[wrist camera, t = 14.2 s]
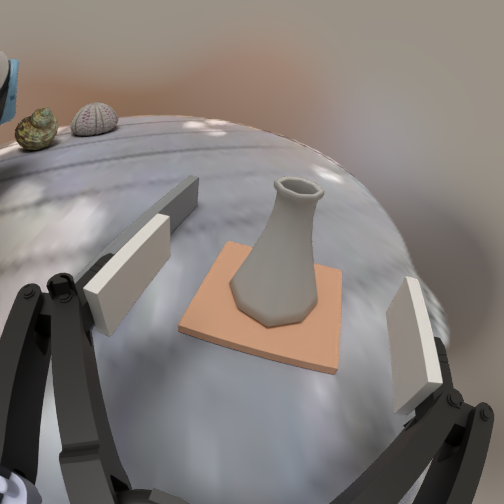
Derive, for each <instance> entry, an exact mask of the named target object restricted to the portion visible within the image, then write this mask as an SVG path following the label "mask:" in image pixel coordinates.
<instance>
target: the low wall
mask: <svg viewBox="0 0 504 504" xmlns="http://www.w3.org/2000/svg"><path fill="white" fill-rule="evenodd" d="M198 185H199V177H196V176H191V175H190V176H189V177H187V178H186V179H185V180H184V181H182V182H181V183H180V184H179V185H177V186H176V187H175V188H174V189H172V190H171V191H170V192H169V193H167V194H166V195H165V196H164V197H163V198H161V199H160V200H159V201H158V202H157V203H155V204H154V205H153V206H152V207H151V208H149V209H148V210H147V211H146V212H145V213H144V214H142V215H141V216H140V217H139V218H138V219H137V220H136V221H134V222H133V223H132V224H131V225H130V226H129V227H128V228H126V229H125V230H124V231H123V232H122V233H121V234H120V235H119V236H118V237H117V238H115V239H114V240H113V241H112V242H111V243H110V244H109V245H108V246H107V247H106V248H105V249H104V250H103V251H102V252H100V253H99V254H98V255H97V256H96V257H95V258H94V259H93V260H92V261H91V262H90V263H89V264H88V265H87V266H86V267H85V268H84V269H83V270H82V271H81V272H80V273H79V274H78V275H77V276H76V277H75V278H74V283H76V282H77V281H78V280H79V279H80V278H81V277H82V276H83V275H84V274H85V273H86V272H87V271H88V270H89V269H90V268H91V267H92V266H93V265H94V264H95V263H96V262H97V261H98V260H99V259H100V258H101V257H102V256H104V255H106V254H108V253H112V254H116V253H117V252H118V251H119V250H120V249H121V248H122V247H123V246H124V245H125V244H126V243H127V242H128V241H129V240H130V239H131V238H132V237H133V236H134V235H135V234H136V233H137V232H138V231H140V230H141V229H142V228H143V227H144V226H145V225H146V224H147V223H148V222H149V221H150V220H151V219H152V218H153V217H154V216H155V215H156V214H163V215H167V216H170V235H171V234H172V232H173V231H174V230H175V229H176V228H177V227H178V226H179V225H180V224H181V223H182V222H183V220H184V219H185V218H186V217H187V216H188V215H189V214H190V213H191V212H192V211H193V210H194V209H195V208H196V207H197V201H198ZM94 325H95V324H94ZM94 325H93V326H94ZM93 326H92V327H93ZM92 327H91V329H92ZM51 360H52V355H51Z"/></svg>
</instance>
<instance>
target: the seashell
mask: <svg viewBox="0 0 504 504" xmlns="http://www.w3.org/2000/svg"><path fill="white" fill-rule="evenodd" d="M57 130H58V121H57V119H56V117H55V115H54V114H53V113H52V112H51V110H50V109H49V108H43V109H38V110H36V111H35V112H34V113H33V114H32V116H30V117H26V118H24V119H23V120H22V121H21V122H20V123H18V126H17V128H16V129H15V138H16V141H17V142H18V144H19V145H20V146H22V147H23V148H25V149H27V150H39V149H42V148H44V147H46V146H48V145H49V144H50V143H51V142H52V141H53V139H54V138H55V136H56V134H57Z"/></svg>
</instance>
